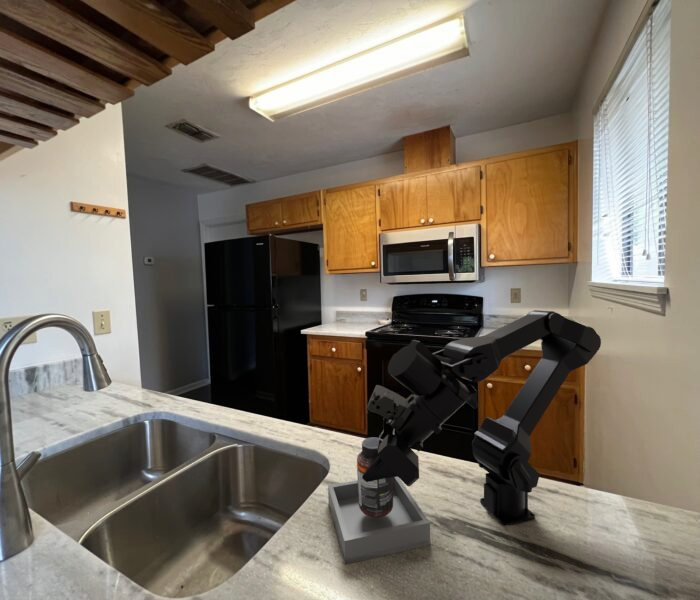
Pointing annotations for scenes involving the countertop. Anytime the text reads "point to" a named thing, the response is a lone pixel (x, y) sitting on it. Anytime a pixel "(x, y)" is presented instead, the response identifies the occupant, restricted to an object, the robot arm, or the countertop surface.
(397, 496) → the tray
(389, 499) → the supplement bottle
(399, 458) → the robot arm
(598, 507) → the countertop surface
